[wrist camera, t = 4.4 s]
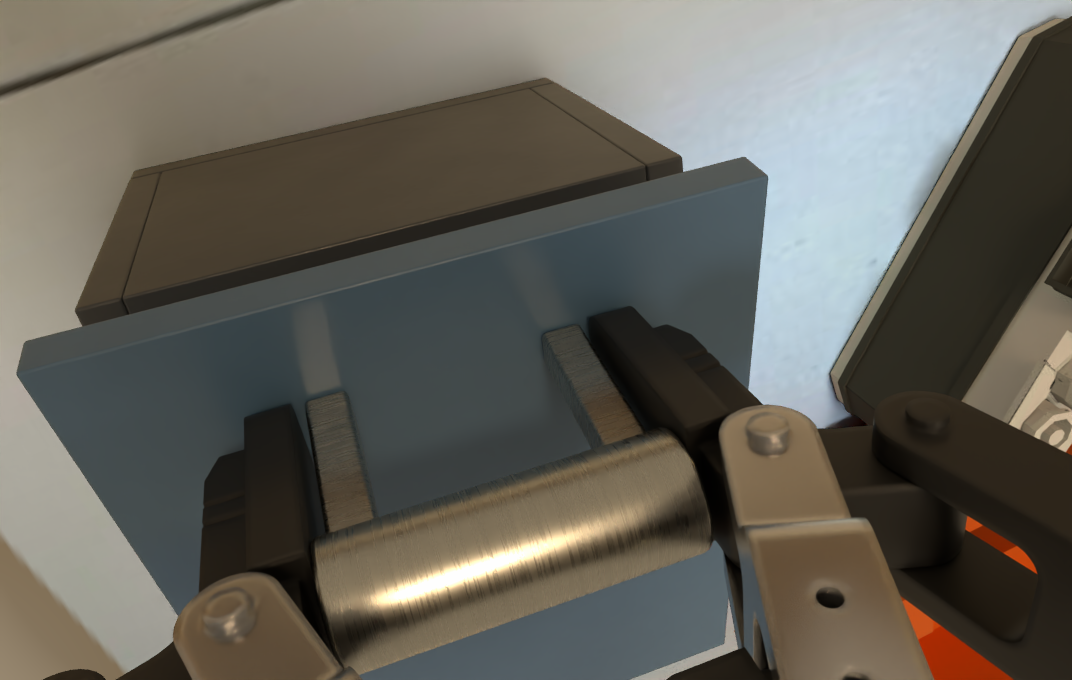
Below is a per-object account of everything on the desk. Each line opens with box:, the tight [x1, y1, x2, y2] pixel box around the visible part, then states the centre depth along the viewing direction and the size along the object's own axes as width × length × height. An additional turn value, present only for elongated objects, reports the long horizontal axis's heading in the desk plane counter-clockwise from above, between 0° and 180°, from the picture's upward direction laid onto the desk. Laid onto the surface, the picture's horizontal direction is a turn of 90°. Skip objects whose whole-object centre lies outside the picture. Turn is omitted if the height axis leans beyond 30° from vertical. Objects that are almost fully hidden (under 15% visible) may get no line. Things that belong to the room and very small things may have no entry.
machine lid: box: [17, 157, 768, 680], centre depth 16 cm, size 14×12×5 cm
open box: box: [75, 78, 683, 327], centre depth 22 cm, size 14×12×9 cm
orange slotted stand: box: [900, 444, 1072, 680], centre depth 34 cm, size 18×13×8 cm
